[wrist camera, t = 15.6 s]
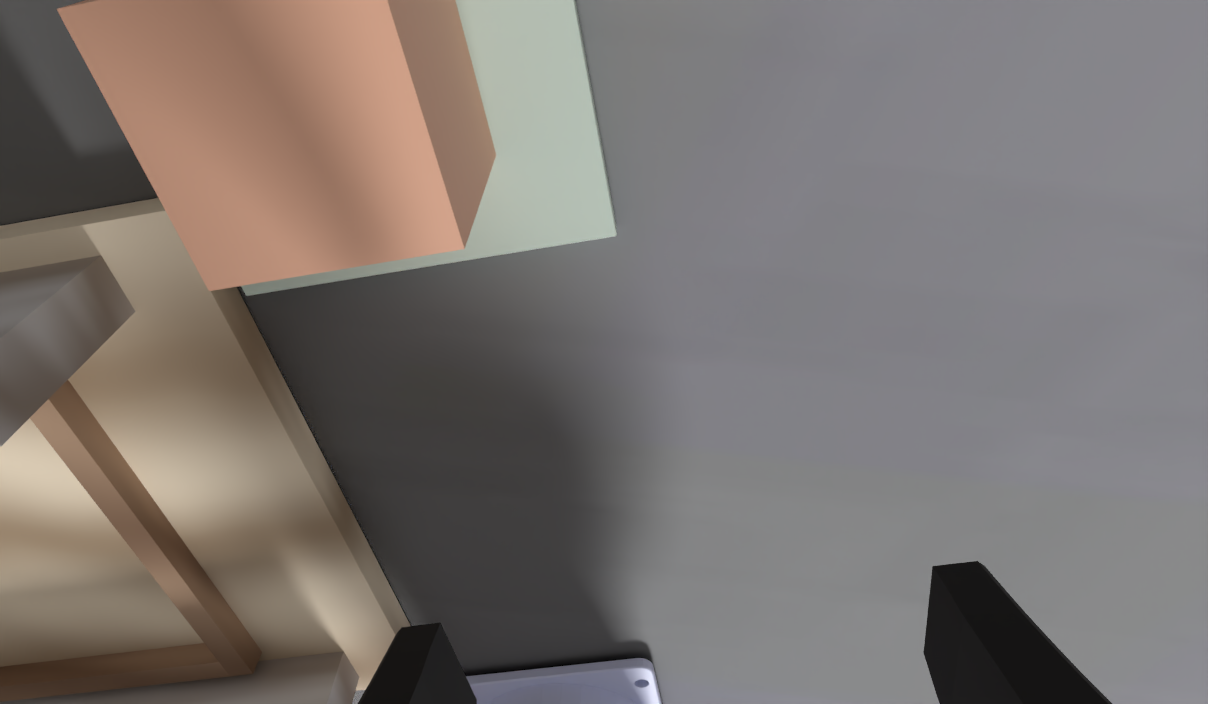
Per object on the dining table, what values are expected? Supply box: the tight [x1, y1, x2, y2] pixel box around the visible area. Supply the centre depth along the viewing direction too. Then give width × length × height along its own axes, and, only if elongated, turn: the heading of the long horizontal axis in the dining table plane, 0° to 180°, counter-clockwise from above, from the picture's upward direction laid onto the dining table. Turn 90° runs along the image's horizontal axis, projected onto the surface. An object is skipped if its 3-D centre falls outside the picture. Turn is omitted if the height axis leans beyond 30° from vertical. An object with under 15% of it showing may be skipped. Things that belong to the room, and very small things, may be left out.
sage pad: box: [241, 0, 617, 296], centre depth 15 cm, size 9×9×1 cm
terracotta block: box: [57, 0, 496, 291], centre depth 13 cm, size 4×4×4 cm
